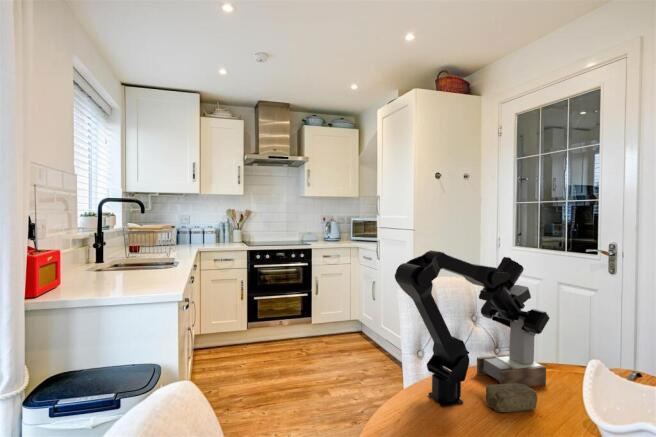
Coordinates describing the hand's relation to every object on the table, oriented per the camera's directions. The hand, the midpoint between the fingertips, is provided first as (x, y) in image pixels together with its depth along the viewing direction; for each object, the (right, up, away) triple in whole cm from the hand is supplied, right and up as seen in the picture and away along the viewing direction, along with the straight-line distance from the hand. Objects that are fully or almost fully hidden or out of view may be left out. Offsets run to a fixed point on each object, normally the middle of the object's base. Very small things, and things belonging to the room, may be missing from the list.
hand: (525, 331), depth 108 cm
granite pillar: (-1, -8, 0) cm, 9 cm away
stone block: (-13, -14, -16) cm, 25 cm away
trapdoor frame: (-5, -13, -1) cm, 15 cm away
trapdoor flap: (-5, -12, -1) cm, 13 cm away
